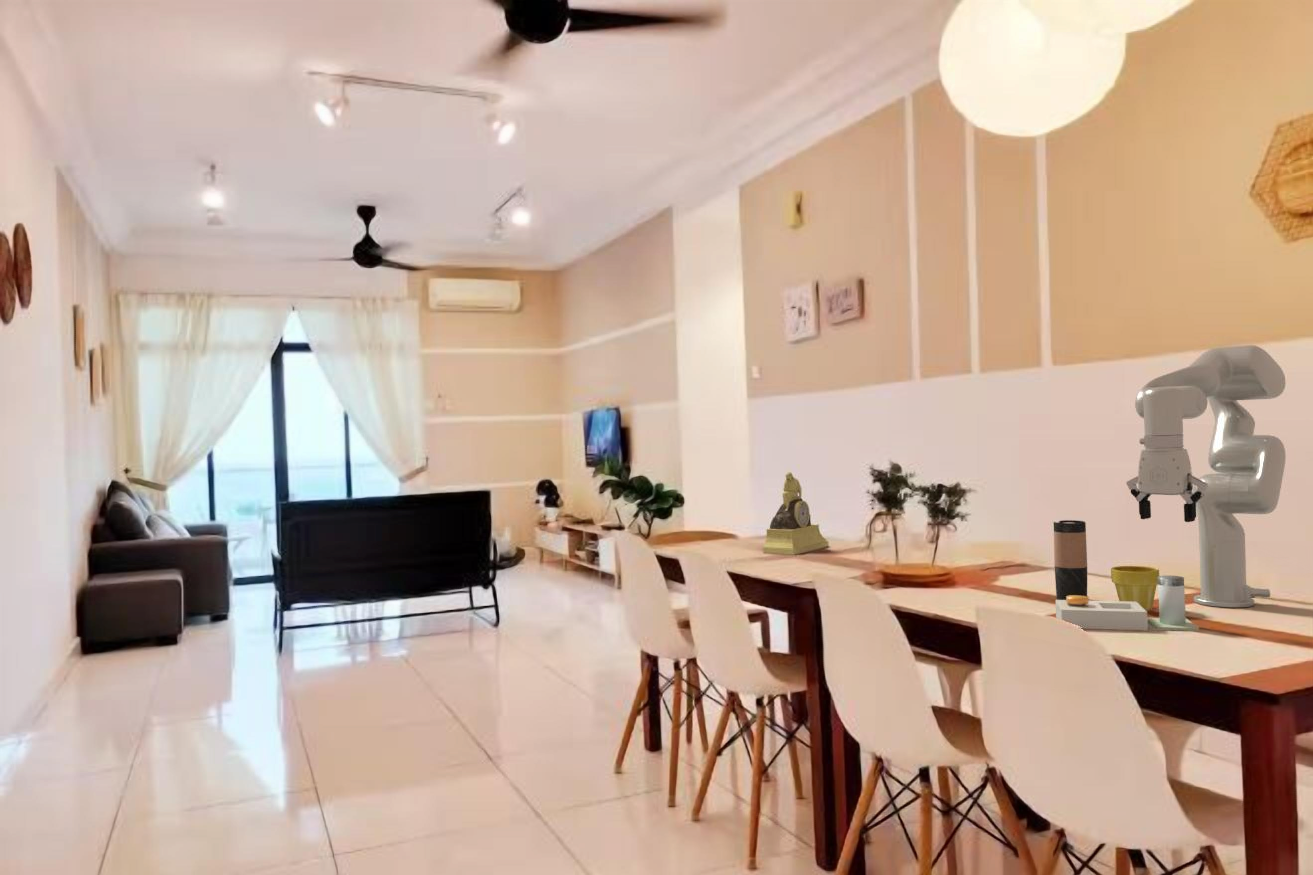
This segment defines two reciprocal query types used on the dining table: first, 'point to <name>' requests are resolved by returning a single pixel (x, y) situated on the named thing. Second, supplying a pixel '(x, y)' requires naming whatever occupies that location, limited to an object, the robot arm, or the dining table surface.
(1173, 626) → the mat
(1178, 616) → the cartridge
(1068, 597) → the plunger
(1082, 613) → the housing
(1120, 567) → the plant pot
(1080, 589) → the travel mug
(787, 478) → the decorative clock
